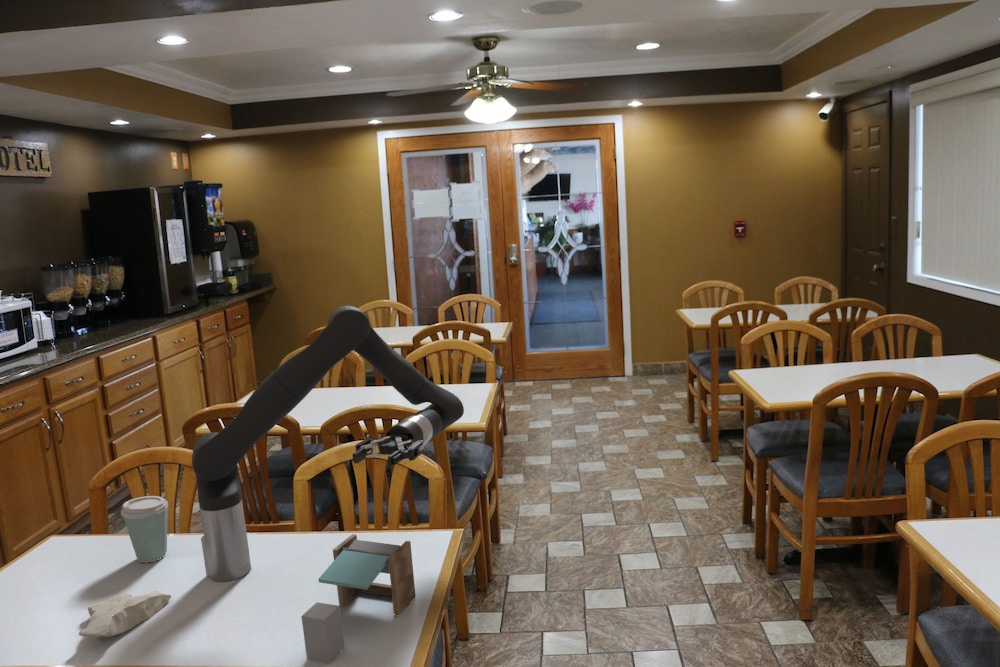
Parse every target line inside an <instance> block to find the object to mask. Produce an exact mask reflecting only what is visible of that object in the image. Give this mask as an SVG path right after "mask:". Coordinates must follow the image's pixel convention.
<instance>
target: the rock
mask: <svg viewBox="0 0 1000 667" xmlns="http://www.w3.org/2000/svg"><path fill="white" fill-rule="evenodd" d="M171 598H172V594H169V593H164V592H160V591H157V590H155V591H152V592H149V593H146V594H142V595H137V596H132V594H128V593H123V592H122V593H118V594H116V595H113V596H112V597H111V598H108V599H106V600H104V601H101V602H97V603H95V604H93V605H89V606H88V607H87V611H88V614H89V617H90V618H89V621H88V624H86V625H87V626H86V627H85V628H84V629H81V630H80V631H79V632H78V635H79V636H81V637H105V638H109V637H115V636H117V635H120V634H123V633H125V632H127V631H129V630H131V629H133V628H134V627H135V626H137V625H138V624H140V623H142V622H143V621H147V620H149V619H151V618H152V617H153V616H154V615H155V614H156V613H158V612H159V611H160V610H161V609H162V608H163V607H164V606H165V605H167V603H168V602H169V601H170V599H171ZM112 615H113V616H112ZM150 617H151V618H150ZM148 618H149V619H148Z"/></svg>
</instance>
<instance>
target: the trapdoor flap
mask: <svg viewBox="0 0 1000 667" xmlns="http://www.w3.org/2000/svg"><path fill="white" fill-rule="evenodd" d="M400 546H401V545H399V544H394V543H393V544H392V543H385V542H378V541H377V542H376V541H369V540H360V539H357V540H354V542H353V543H352V544H351V545H350V546H349V547H348V548H350V549H357V550H364V551H372V552H379V553H387V554H392V553H393V552H395V551H396V550H397V549H398V548H399V547H400ZM388 557H389V556H383V555H376V554H368V553H361V552H354V551H346V550H343V551H342V552H341V553H340V554H339V555H338V557H337V558H336V559H335V560H334V559H333V561H332V563H331V564H330V565H328V567H327V568H326V569H325V571H323V573H322V574H321V575H320V577H318V579H317V580H318V583H322V584H326V585H327V584H328V585H333V586H337V585H339V586H345V587H352V588H358V589H365V590H367V589H368V587H369V586H370V585H371V584H372V582H373V583H374V581H375V580H376V578H377V577H378V576H379V574H380V573H381V574H389V575H390V570H389V561H388Z"/></svg>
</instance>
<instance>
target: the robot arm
mask: <svg viewBox="0 0 1000 667" xmlns="http://www.w3.org/2000/svg"><path fill="white" fill-rule="evenodd" d="M370 323H371V322H370V319H369V317H368V316H367V315H366V314H365V312H363V311H362V310H361V309H360V308H358V307H356V306H353V305H341V306H339V307H337V308H335V309H334V310H332V312H331V313H330V315H329V317H328V321H327V325H326V326H325V327H324V328H323V330H322V331H321V332H320V333H319V334H318V335H317V337H315V339H314V340H313V341H312V342H311V343H309V345H308V346H306V347H305V348H304V349H302V350H300V351H299V352H297V353H296V354H295V355H293V356H291V357H290V358H288V359H287V360H286V361H285V362H283V363H282V364H280V365H279V366H278V367H277V368H276V369H275V370H273V371H272V372H271V373H270V374H269V375H267V377H266V378H265V379H264V380H263V381H262V382H261V383H260V384H259V385H258V386H257V387H256V388H255V390H254V391H253V392H252V393H251V395H250V396H249V398H248V399H247V400H246V402H245V403H244V404H243V405H242V408H241V409H240V410H239V411H238V413H237V414H236V416H235V417H234V418H232V420H231V421H230V422H229V423H228V424H227V425H226V426H225V427H224V428H223V429H221V430H220V431H218V432H216V431H215V432H209V433H206V434H204V435H201V437H199V438H198V440H196V442H195V444H194V445H193V449H192V454H191V455H192V456H191V467H192V469H193V471H194V474H195V478H196V486H197V499H198V505H199V512H200V519H201V525H202V531H203V535H202V536H201V538H200V541H201V548H202V553H203V560H204V561H203V562H204V567H205V568H204V570H205V575H206V576H208V577H209V578H210V579H211V580H212V581H215V582H228V581H233V580H238V579H240V578H242V577H244V576H246V575H247V574H248V573H249V572H250V571H251V570H252V565H251V564H252V563H251V557H250V555H251V554H250V548H249V542H248V534H247V528H246V519H245V513H244V511H245V510H244V507H243V506H244V505H243V499H242V490H241V481H240V475H239V474H240V473H239V467H238V464H239V463H240V461H241V460H242V459H243V458H244V457H245V456H246V455H247V453H248V452H249V451H250V450H251V449H252V448H253V446H254V445H255V444H256V443H257V442H258V441H259V440H260V439H261V438H263V437H264V436H265V435H266V434H267V433H268V432H269V431H271V429H274V427H276V425H277V424H278V423H280V421H282V420H283V419H284V418H285V417H286V416H287V415H288V414H290V412H292V411H293V410H294V408H296V407H297V405H299V404H300V403H301V402H302V401H303V400H304V399H305V398H306V397H307V396H308V394H309V393H311V391H313V389H314V388H316V386H317V385H318V384H319V383H320V382H321V380H322V379H323V378H324V377H325V376H326V375H327V373H329V371H331V369H332V368H334V366H336V365H337V364H338V363H339V362H340V361H342V360H343V359H344V358H345V357H346V356H349V354H350V353H352V352H353V351H354V352H356V353H357V354H359V355H360V356H361V357H363V358H364V359H365V360H366V361H367V362H368V363H369V364H370V365H371V366H373V368H374V369H375V370H377V372H378V373H379V374H380V375H381V376H382V377H383V378H384V379H385V381H386V382H388V383H389V385H390V386H392V388H394V389H395V390H396V391H397V392H398V393H399V394H400V395H401V396H402V397H403V398H404V399H405V400H406V401H407V402H409V403H410V404H411V405H413V406H418V405H421V404H425V403H430V404H429V405H428V406H426V407H425V408H424V409H421V410H419V411H417V412H416V413H414V414H412V415H410V416H407V417H405V418H404V419H402V420H400V421H399V422H397V423H396V424H394V425H393V426H391V427H389V429H388V430H387V432H386V434H385V436H383V437H382V438H379V439H376V440H375V439H374V436H369V437H367V438H365V439H363V440H361V441H360V442H358V443H355V445H354V447H355V452H354V453H352V461H353V464H359V463H361V462H362V461H364V460H365V459H366V458H370V457H373V458H379V457H383V456H387V462H388V463H387V464H388V467H394V466H395V465H397V464H398V463H400V462H405V461H406V460H408V461H410V462H412V461H415V460H416V459H418V457H419V456H421V455H422V454H423V453H425V449H424V448H425V447H424V446H425V445H426V444H428V443H429V441H431V440H432V439H433V438H434V437H436V436H437V435H438V434H440V433H442V432H443V431H445V430H446V429H448V428H449V427H450V426H451V425H453V424H454V423H456V422H457V421H458V420H460V419H461V418H462V417H463V415H464V413H465V408H464V404H463V402H462V401H461V399H460V398H459V397H458V396H457V395H455V394H454V393H453V392H451V391H449V390H447V389H446V388H444V387H441V386H439V385H438V384H435V383H434V382H433V381H430V380H429V379H428V378H427V377H426V376H425V375H424V374H423V373H422V372H421V371H419V370H418V369H417V367H415V366H414V365H413V364H412V363H410V361H408V360H407V359H406V358H405V357H403V356H402V355H401V354H400V353H399V352H397V351H396V350H395V349H394V348H392V347H391V346H390V344H388V343H387V342H386V341H385V340H384V339H383V338H382V337H381V336H380V335H379V334H378V333H377V331H376V330H375V329H374V328H373V327H372V325H371V324H370ZM377 448H378V452H377Z"/></svg>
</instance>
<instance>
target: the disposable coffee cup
mask: <svg viewBox="0 0 1000 667" xmlns="http://www.w3.org/2000/svg"><path fill="white" fill-rule="evenodd" d="M168 508H169V502H168V501H167V500H166V499H165V498H163V497H162V496H158V495H149V496H148V495H147V496H141V497H134V498H132V499H129V500H128V501H127V500H126V501H125V502H124V503H123V504H122V508H121V509H120V515H121V517H123V520H124V524H125V527H126V530H127V533H128V535H129V538H130V541H131V544H132V547H133V550H134V553H135V556H136V559H137V560H138V561H139V562H140V563H141V562H145V563H144V564H149V563H148V562H152V563H154V562H153V561H155V562H157V561H156V560H158V559H160V558H162V557H163V556H164V555H165V554H167V551H168V510H169V509H168ZM165 556H166V555H165ZM162 559H163V558H162ZM160 560H161V559H160ZM158 561H159V560H158Z"/></svg>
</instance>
